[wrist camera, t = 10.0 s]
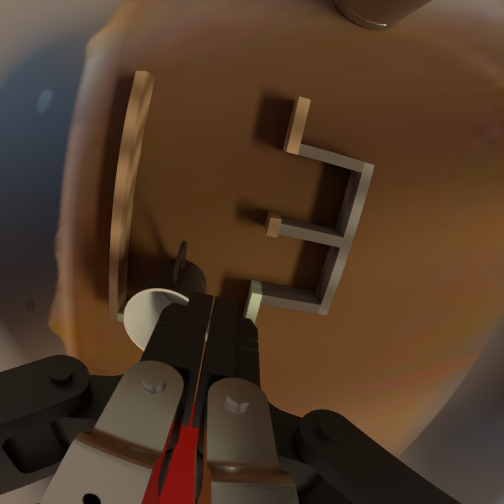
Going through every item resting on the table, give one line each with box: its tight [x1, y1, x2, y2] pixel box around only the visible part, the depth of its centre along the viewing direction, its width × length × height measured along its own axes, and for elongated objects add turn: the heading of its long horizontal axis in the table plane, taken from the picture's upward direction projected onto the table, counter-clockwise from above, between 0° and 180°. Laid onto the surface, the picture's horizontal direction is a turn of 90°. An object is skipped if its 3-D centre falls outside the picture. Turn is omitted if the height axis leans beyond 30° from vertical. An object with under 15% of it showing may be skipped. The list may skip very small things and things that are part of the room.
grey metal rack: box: [109, 71, 374, 341], centre depth 34 cm, size 30×27×4 cm
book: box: [160, 403, 199, 504], centre depth 33 cm, size 27×8×32 cm, turn 75°
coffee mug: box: [124, 241, 207, 351], centre depth 33 cm, size 12×9×10 cm
